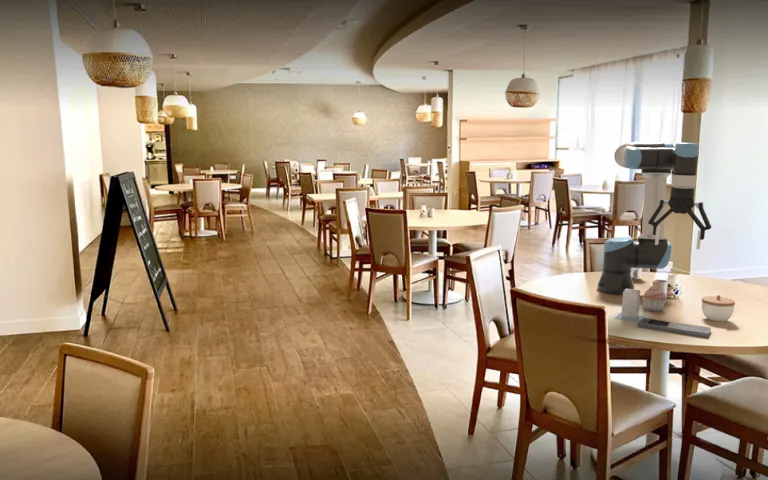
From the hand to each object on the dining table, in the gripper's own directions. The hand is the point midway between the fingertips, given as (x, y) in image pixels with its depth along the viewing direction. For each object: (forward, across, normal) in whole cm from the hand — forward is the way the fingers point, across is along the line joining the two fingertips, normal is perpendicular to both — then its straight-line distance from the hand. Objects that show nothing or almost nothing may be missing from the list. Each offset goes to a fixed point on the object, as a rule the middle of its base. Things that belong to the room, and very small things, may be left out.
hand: (677, 246), depth 222 cm
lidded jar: (+28, -14, -12) cm, 33 cm away
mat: (+28, +13, +5) cm, 31 cm away
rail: (+28, -3, +12) cm, 30 cm away
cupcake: (+28, +8, -13) cm, 32 cm away
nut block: (+28, +13, +5) cm, 31 cm away
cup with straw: (+29, +26, -68) cm, 79 cm away
